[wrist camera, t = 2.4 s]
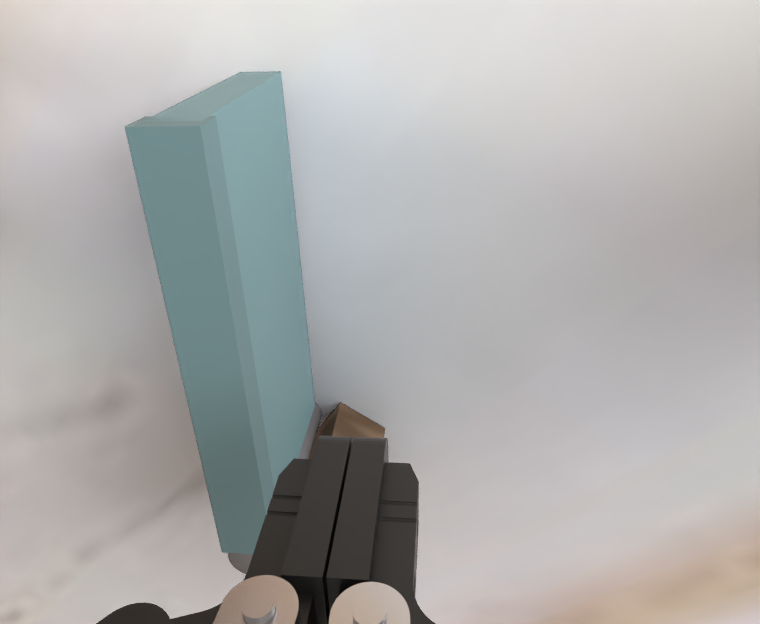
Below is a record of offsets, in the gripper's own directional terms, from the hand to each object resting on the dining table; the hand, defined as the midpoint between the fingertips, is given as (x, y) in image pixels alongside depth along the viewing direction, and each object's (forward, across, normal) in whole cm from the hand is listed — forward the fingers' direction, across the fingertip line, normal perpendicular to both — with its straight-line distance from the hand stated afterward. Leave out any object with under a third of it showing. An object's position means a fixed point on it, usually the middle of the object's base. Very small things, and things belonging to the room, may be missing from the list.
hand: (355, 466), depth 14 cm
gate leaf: (+15, +5, +3) cm, 16 cm away
